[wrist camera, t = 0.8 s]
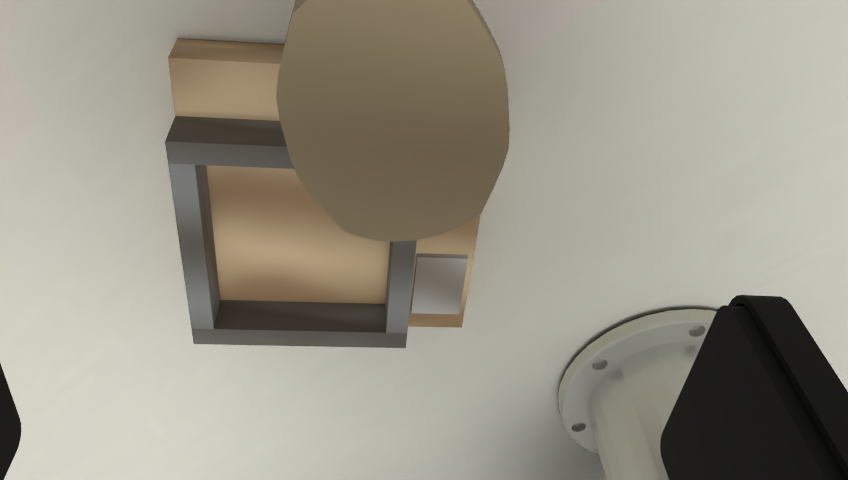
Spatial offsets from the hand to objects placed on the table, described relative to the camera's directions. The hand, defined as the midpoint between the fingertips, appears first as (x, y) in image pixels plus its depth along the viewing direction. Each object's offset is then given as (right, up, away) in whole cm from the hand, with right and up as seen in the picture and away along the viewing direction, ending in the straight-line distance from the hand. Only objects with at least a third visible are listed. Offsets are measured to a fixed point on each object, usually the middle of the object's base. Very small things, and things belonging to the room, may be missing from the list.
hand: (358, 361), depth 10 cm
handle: (-1, +13, +18) cm, 23 cm away
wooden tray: (-3, +4, +25) cm, 26 cm away
